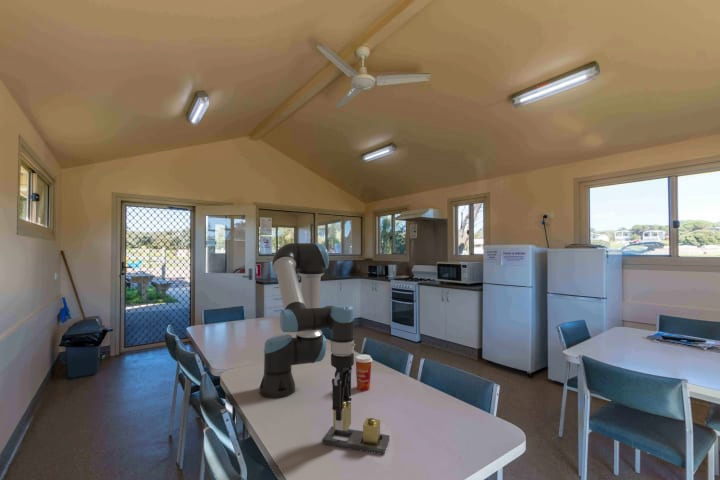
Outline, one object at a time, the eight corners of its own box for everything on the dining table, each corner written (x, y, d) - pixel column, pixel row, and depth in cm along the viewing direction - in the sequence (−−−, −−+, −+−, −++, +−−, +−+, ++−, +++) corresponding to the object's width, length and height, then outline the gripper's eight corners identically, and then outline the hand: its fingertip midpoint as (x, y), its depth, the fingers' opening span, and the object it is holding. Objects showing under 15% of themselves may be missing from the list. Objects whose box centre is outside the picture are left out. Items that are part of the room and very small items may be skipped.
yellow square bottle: (333, 428, 108) (333, 404, 108) (338, 422, 113) (338, 398, 113) (346, 430, 107) (346, 405, 107) (350, 423, 111) (350, 399, 112)
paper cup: (351, 389, 149) (351, 357, 149) (359, 383, 156) (360, 353, 156) (367, 393, 145) (367, 360, 146) (375, 387, 152) (375, 355, 152)
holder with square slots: (322, 444, 107) (323, 419, 108) (331, 431, 115) (331, 407, 115) (384, 454, 102) (384, 428, 102) (389, 440, 110) (389, 416, 110)
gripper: (345, 362, 101) (344, 441, 100) (360, 346, 118) (360, 414, 117) (321, 360, 103) (321, 437, 102) (340, 344, 120) (339, 411, 119)
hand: (342, 425), depth 110 cm, fingers closed on yellow square bottle, 4 cm apart
